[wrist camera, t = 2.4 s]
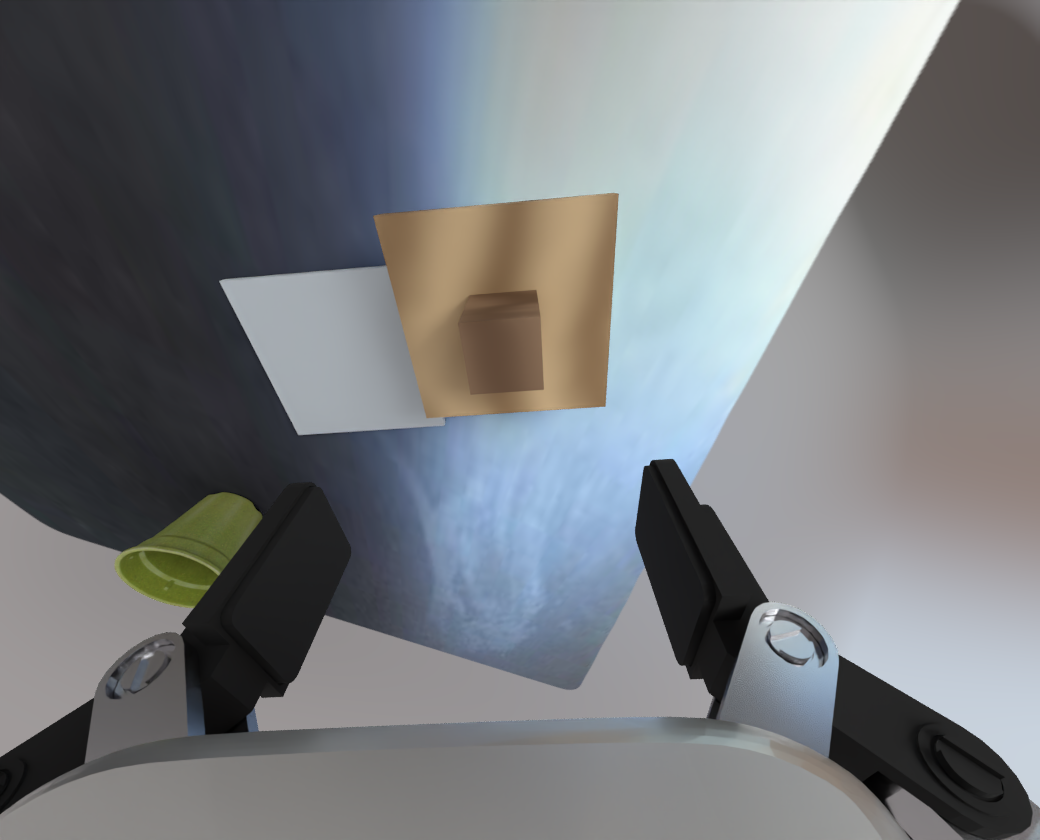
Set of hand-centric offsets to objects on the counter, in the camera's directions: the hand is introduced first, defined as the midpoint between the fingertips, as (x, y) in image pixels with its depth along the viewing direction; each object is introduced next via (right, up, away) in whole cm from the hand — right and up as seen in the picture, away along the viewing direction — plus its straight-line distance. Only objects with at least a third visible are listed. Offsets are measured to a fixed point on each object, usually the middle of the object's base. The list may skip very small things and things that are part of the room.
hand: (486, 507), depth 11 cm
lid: (0, +9, +13) cm, 16 cm away
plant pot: (-31, -7, +30) cm, 44 cm away
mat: (-13, +8, +20) cm, 25 cm away
